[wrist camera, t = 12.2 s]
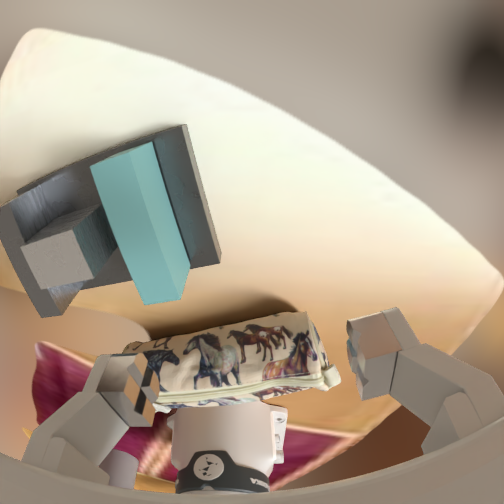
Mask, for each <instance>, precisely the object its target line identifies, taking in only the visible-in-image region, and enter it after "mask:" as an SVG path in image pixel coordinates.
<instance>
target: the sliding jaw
mask: <svg viewBox="0 0 504 504" xmlns="http://www.w3.org/2000/svg"><path fill="white" fill-rule="evenodd" d="M90 169H91V172H92V175H93V178H94V181H95V184H96V187H97V190H98V193H99V196H100V199H101V201H102V204H103V207H104V210H105V213H106V215H107V218H108V221H109V223H110V226H111V228H112V231H113V234H114V236H115V239H116V241H117V244H118V246H119V249H120V251H121V253H122V256H123V258H124V261H125V263H126V265H127V268H128V270H129V272H130V274H131V277H132V279H133V281H134V283H135V286H136V288H137V290H138V292H139V294H140V296H141V299H142V301H143V303H144V305H149V304H156V303H162V302H168V301H174V300H180V299H181V296H182V293H183V289H184V286H185V282H186V279H187V276H188V272H189V269H190V266H191V265H190V262H189V260H188V257H187V254H186V251H185V248H184V245H183V242H182V239H181V236H180V233H179V230H178V227H177V224H176V221H175V217H174V214H173V211H172V208H171V205H170V202H169V198H168V195H167V192H166V189H165V185H164V182H163V179H162V175H161V172H160V168H159V165H158V162H157V158H156V155H155V151H154V147H153V144H152V142H149V143H146V144H143V145H140V146H137V147H134V148H131V149H128V150H125V151H122V152H119V153H117V154H115V155H112V156H110V157H108V158H106V159H104V160H102V161H100V162H98V163H96V164H94V165H92V166H90Z"/></svg>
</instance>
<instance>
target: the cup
mask: <svg viewBox="0 0 504 504" xmlns="http://www.w3.org/2000/svg"><path fill="white" fill-rule="evenodd" d="M138 464H139V462H138V460H137V459H136V458H135V457H133V456H132V455H130V454H128V453H125V452H122V451H119V450H116V449H112V450H111V451H110V452H109V454H108V455H107V456H106V457H105V458H104V460H103V461H102V462H101V463H100V465H99V468H101V469H102V470H103V471H105V472H106V473H107V474H108V475H109V477H110V479H109V484H108V485H110V486H116V487H122V488H128V489H134V484H135V479H136V474H137V469H138Z"/></svg>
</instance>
